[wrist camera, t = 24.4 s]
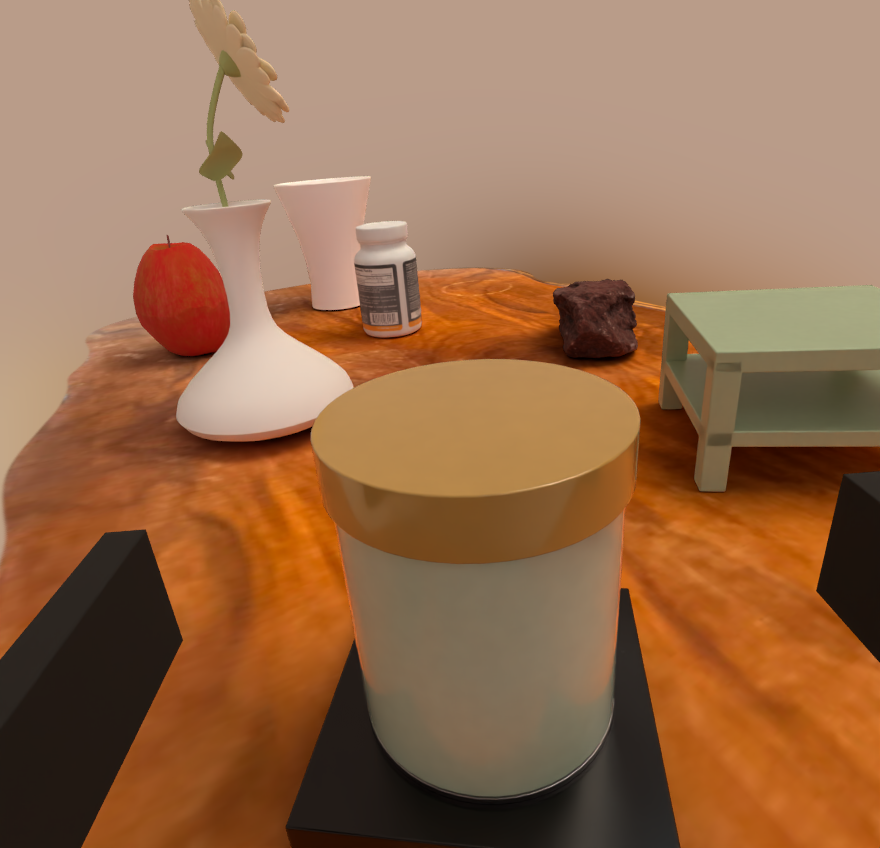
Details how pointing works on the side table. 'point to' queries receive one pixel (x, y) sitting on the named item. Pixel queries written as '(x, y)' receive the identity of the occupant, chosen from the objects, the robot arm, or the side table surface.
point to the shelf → (773, 370)
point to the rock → (596, 318)
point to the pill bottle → (387, 280)
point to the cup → (328, 234)
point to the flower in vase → (247, 279)
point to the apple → (181, 299)
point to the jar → (483, 562)
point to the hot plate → (488, 818)
